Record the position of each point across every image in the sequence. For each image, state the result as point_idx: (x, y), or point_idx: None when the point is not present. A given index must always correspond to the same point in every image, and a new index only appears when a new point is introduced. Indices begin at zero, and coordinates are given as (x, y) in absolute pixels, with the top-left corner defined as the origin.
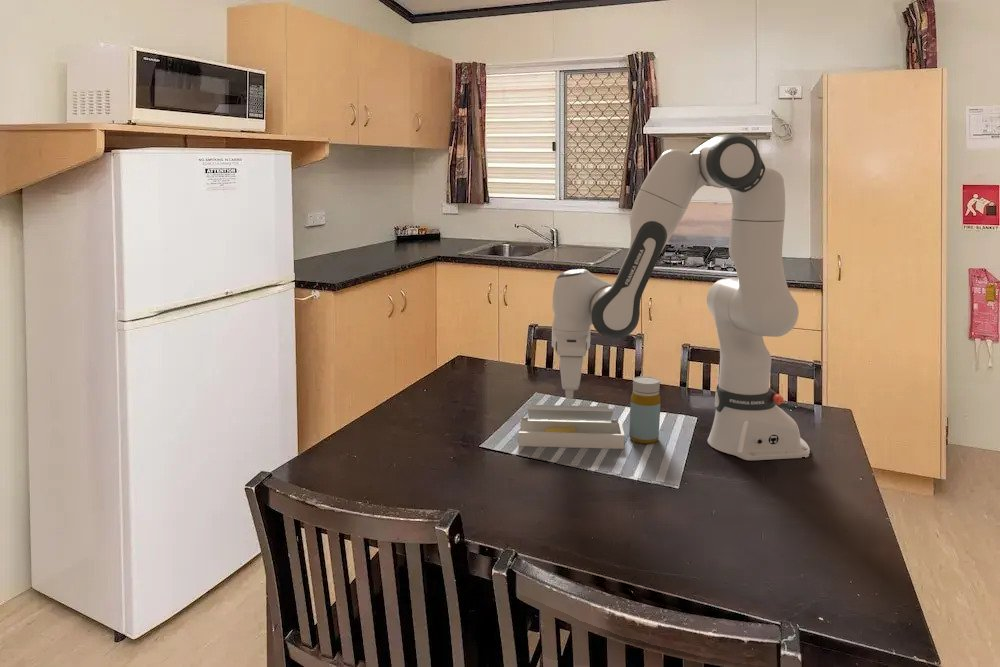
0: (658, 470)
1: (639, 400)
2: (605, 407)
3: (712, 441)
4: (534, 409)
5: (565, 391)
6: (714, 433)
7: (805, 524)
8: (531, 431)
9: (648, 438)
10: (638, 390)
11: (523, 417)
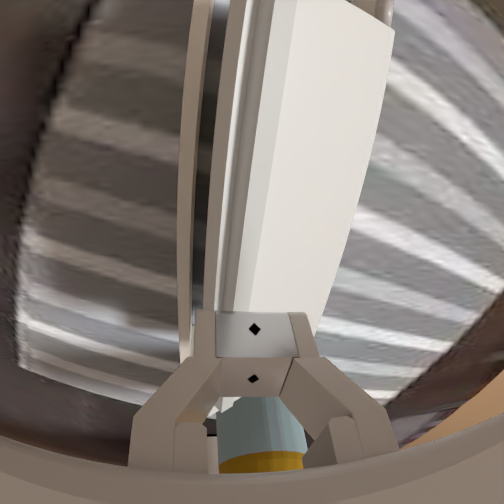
0: (74, 363)
1: (230, 472)
2: (219, 403)
3: (208, 445)
4: (230, 12)
5: (299, 327)
6: (211, 458)
7: (8, 423)
8: None
9: None
10: None
11: (387, 4)
